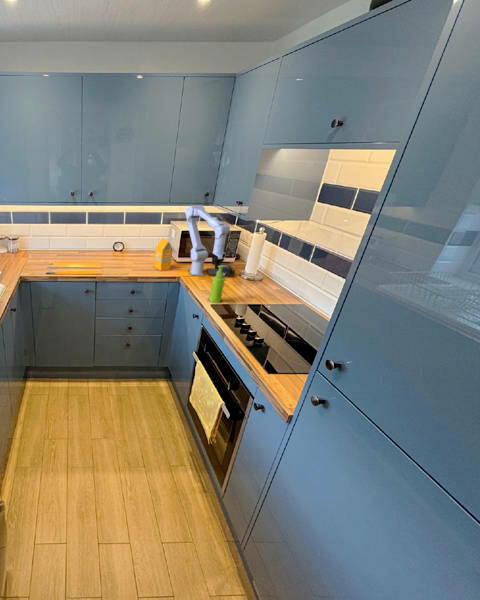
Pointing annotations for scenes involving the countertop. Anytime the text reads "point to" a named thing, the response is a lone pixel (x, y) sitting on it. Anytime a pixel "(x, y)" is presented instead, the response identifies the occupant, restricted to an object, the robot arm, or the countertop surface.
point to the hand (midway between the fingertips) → (215, 266)
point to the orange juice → (163, 255)
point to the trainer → (225, 268)
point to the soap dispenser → (217, 285)
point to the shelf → (228, 274)
